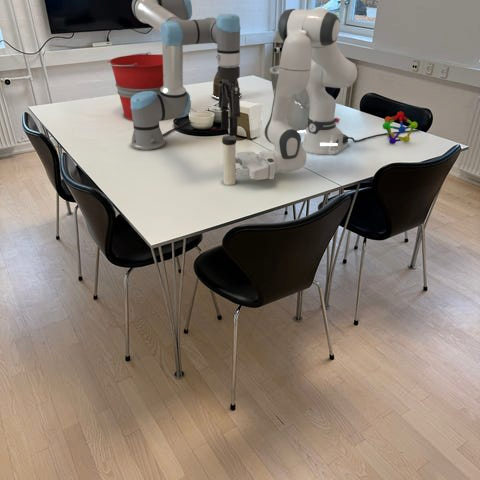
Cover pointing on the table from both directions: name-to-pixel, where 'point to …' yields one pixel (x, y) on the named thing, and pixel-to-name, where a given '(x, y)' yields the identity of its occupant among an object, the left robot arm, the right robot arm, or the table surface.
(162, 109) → the left robot arm
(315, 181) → the table surface
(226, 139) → the lid
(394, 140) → the educational toy
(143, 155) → the table surface
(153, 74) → the bucket
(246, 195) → the table surface
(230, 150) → the jar
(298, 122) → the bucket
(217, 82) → the bell
